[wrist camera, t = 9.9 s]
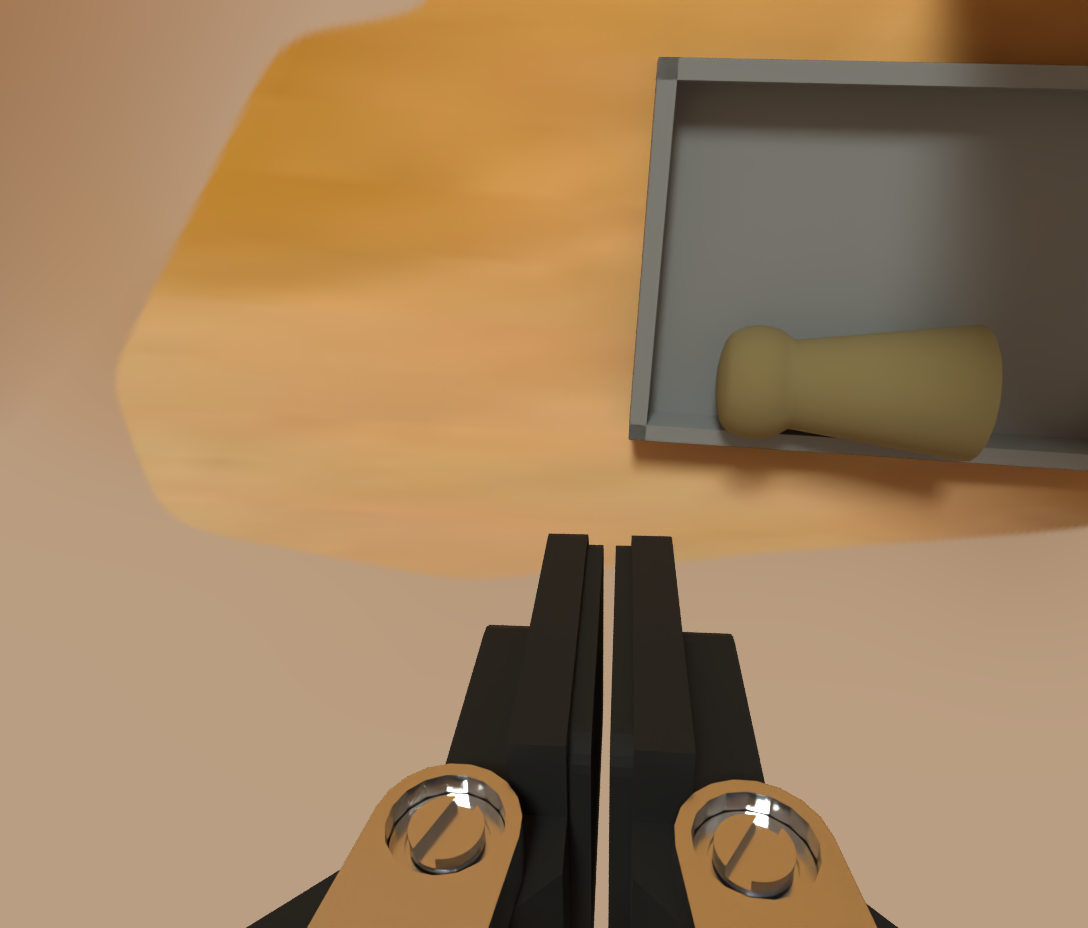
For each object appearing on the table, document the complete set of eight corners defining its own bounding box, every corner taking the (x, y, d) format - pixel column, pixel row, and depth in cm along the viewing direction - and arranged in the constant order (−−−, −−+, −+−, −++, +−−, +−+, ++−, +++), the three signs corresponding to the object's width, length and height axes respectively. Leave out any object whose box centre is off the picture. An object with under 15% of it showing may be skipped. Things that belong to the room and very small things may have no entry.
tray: (1248, 74, 30) (1298, 70, 28) (1110, 453, 37) (1140, 474, 35) (657, 62, 32) (659, 57, 30) (629, 421, 39) (628, 439, 37)
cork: (992, 295, 32) (726, 287, 33) (1010, 422, 29) (722, 406, 31) (939, 371, 37) (712, 360, 39) (951, 483, 35) (708, 467, 36)
